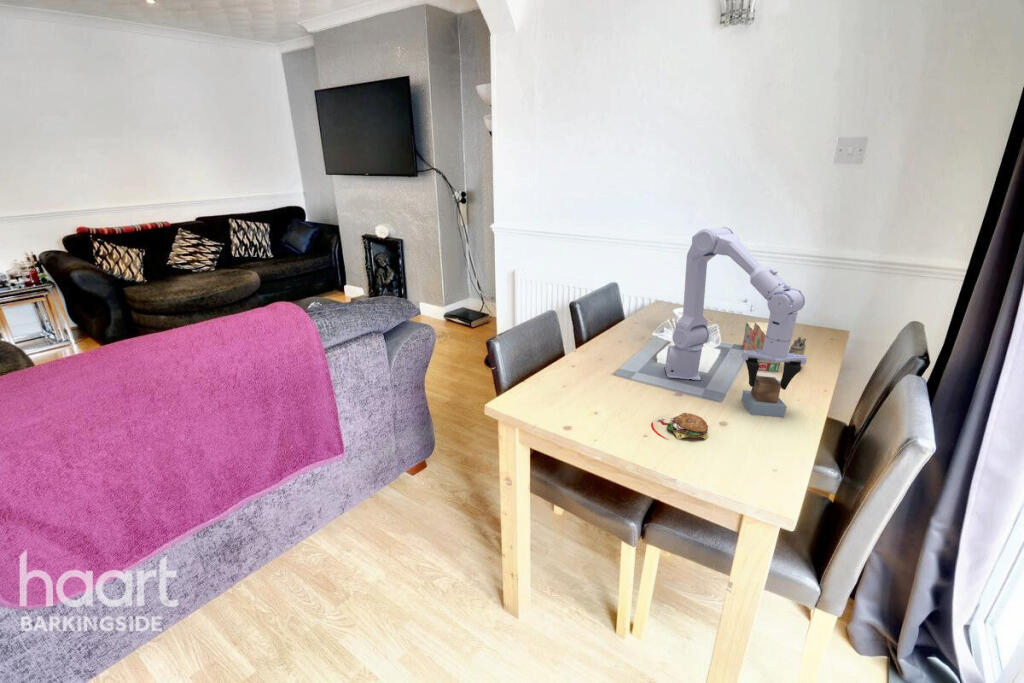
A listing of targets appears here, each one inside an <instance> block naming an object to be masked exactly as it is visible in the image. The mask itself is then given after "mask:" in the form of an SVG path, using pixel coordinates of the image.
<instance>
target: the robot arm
mask: <svg viewBox="0 0 1024 683" xmlns="http://www.w3.org/2000/svg"><path fill="white" fill-rule="evenodd" d="M691 239H692V240H691V245H690V247H689V249H688V252H687V253H686V262H685V263H686V264H685V280H684V291H683V292H684V294H683V295H684V296H683V309H682V310H683V311H682V316H681V317H680V318H679V319H678V320H677V322H676V323H675V328H674V331H673V333H672V342H673V344H674V345H673V344H672V345H668V348H667V352H666V359H665V366H664V369H665V374H666V377H667V378H669V379H671V378H672V379H678V378H679V380H689V379H692V381H701V380H702V379H701V375H700V374H699V369H700V368H699V367H700V362H701V356H702V350H703V347H704V344H706V343H707V342H708V341H709V339H710V330H709V327H708V320H707V319H706V317H704V307H705V294H706V281H707V267H708V262H709V261H710V260H711V259H712V258H714V257H715V256H716V255H719V256H720V255H721V256H727V257H729V258H730V259H731V260H732V261H733V262H735V263H736V264H737V265H738V266H739V267H740V268H741V269H743V271H744V272H745V273H746V274H747V275H748V276H750V279H749V280H750V281H749V283H750V284H751V286H753V287H754V288H755V290H756V291H757V292H759V294H760V295H761V296H762V297H763V298H764V299H765V300H766V301H767V308H768V310H769V320H768V322H767V323H768V327H767V331H766V336H765V340H764V345H763V349H762V350H744V349H743V350H742V353H741V358H742V359H743V360H744V361H745V364H746V368H747V371H748V372H747V373H748V385H749V386H750V387H751V388H752V387H754V384H755V379H756V375H757V373H759V371H758V369H759V367H760V366H759V364H758V361H757V360H765V361H775V362H780V363H783V371H782V376H781V378H780V379H781V383H780V385H781V389H782V390H784V391H785V390H787V387H788V386H789V384H790V383H791V381H792V380H793V378H794V377H795V376H796V375H797V374H798V373H800V372H801V371H802V368H803V367H802V365H803V366H804V365H806V363H807V359H808V358H807V357H806V356H805V354H804V355H800V354H794V353H789V350H790V348H791V343H792V342H791V341H792V338H793V334H794V329H795V326H796V323H797V322H796V321H797V316H798V312H799V311H801V310H802V309H803V308H804V306H805V305H806V304H805V303H806V300H805V296H804V294H803V293H802V291H801V290H800V289H798V288H794V287H792V286H791V284H790V283H787V282H785V281H784V280H783V279H782V278H781V277H780V276H779V275H778V271H777V270H776V269H775V268H771V267H769V266H762V265H761V264H760V263H759V261H758V260H757V259H756V257H754V255H753V254H752V253H751V252H750V251H749V250H748V248H747V247H746V246H745V245H744V243H742V242H741V240H740V236H739V235H738V234H737V233H735V232H734V231H733V229H731V228H730V227H725V226H723V227H719V228H704V229H700V230H699V231H698V232H696V233H695V234H694V235H693V236H692V237H691ZM800 364H801V365H800Z"/></svg>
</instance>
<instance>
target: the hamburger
mask: <svg viewBox="0 0 1024 683" xmlns="http://www.w3.org/2000/svg"><path fill="white" fill-rule="evenodd" d="M665 421H666V419H665V418H661V419H657V423H660V424H661V425H663V426H667V429H668V430H669V431H672V433H673V434H674V435H675V437H676V440H679V439H684V438H689V439H701V438H702V439H704V440H706V439H707V438H708V436H709V434H708V431H709V429H708V428H709V425H708V422H706V421H705V419H704V418H702V417H700V416H698V415H696V414H693V413H688V412H682V413H680V414H679V415H676V416H675V417H674V416H673V417H670V421H669V422H665ZM650 427H651V430H652V431H653V432H654V433H655V434H656V435H658V436H659V437H661V438H663V439H665V440H667V441H669V439H668V438H667V437H665V436H663V435H662V434H660V433H659V432H658V431H657V430H656V429H655V427H654V421H651V423H650Z"/></svg>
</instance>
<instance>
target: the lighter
mask: <svg viewBox="0 0 1024 683" xmlns="http://www.w3.org/2000/svg"><path fill="white" fill-rule="evenodd" d="M806 341H807V339H806V338H804V337H803V338H802V337H801V336H798V337H797V339H795V340H794V341H793V343H792V344H790V347H789V351H788V353H794V354H800V355H805V351H806V343H805V342H806ZM800 365H801V366H802V364H800Z"/></svg>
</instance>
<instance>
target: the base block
mask: <svg viewBox="0 0 1024 683" xmlns="http://www.w3.org/2000/svg"><path fill="white" fill-rule="evenodd" d="M740 401H741V402H742V403H743V405H744V406H745V408H746V410H747V411H748V412H749V414H750V415H751V416H758V417H759V416H761V417H762V416H763V417H775V418H784V417H785V415H786V412H787V411H786V410H787V407H788V406H787V404H785V403H784V401H782V399H781V398H780V397H778V401H777V403H769V402H758V401H756V400H755V398H754V397H753V395H752V394H751V390H747V389H746V390H744V389H743V390H742V394H741V399H740Z"/></svg>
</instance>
